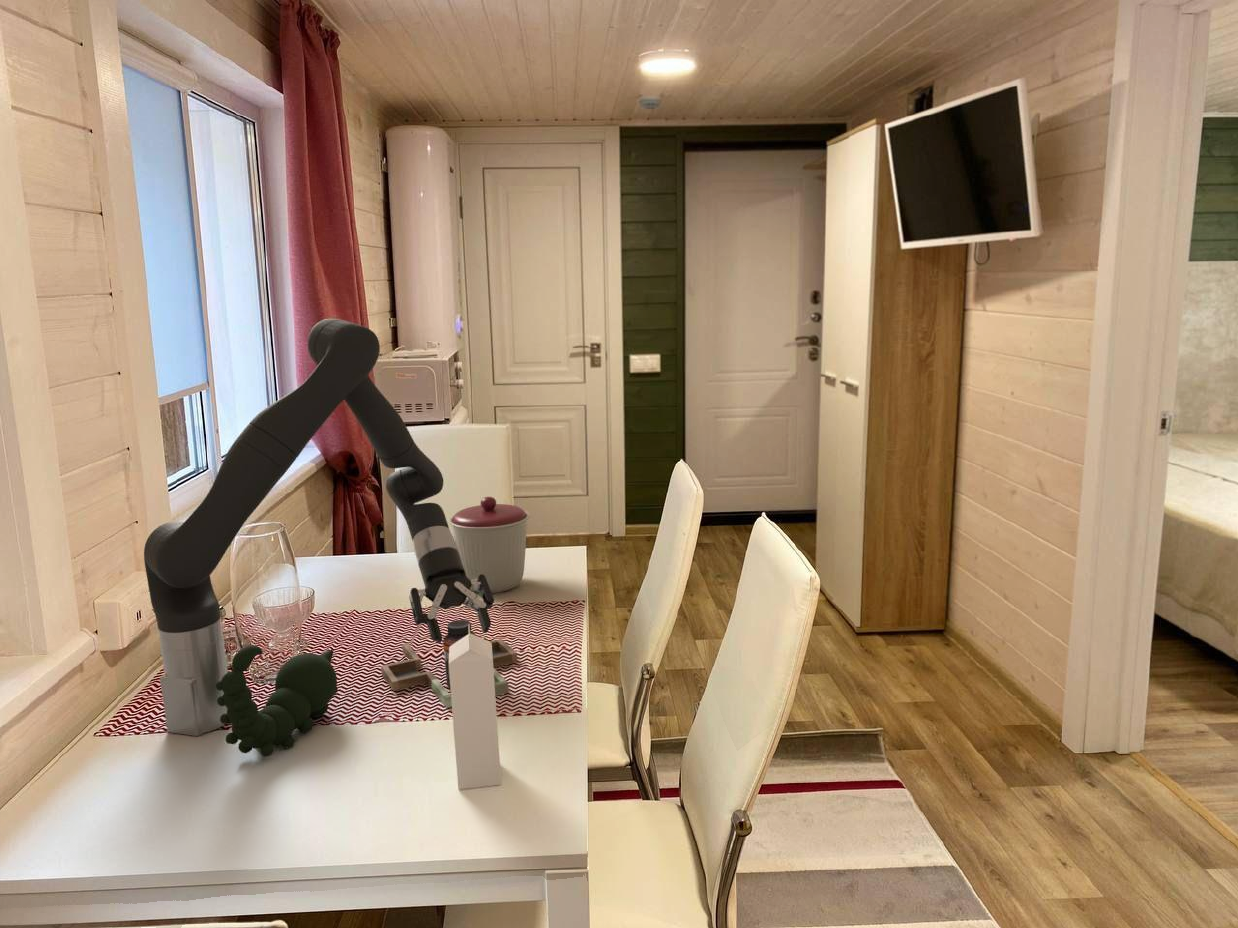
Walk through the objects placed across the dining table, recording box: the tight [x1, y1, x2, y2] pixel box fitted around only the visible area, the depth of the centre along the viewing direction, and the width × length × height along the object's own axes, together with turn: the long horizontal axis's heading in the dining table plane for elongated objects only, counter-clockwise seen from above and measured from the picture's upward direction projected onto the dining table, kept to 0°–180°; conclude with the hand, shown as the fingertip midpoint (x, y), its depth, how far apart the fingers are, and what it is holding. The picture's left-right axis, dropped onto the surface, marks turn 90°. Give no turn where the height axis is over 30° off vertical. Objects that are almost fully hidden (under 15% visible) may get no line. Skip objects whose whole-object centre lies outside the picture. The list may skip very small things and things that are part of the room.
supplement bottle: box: [442, 619, 478, 689], centre depth 162 cm, size 6×6×11 cm
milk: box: [449, 626, 502, 791], centre depth 131 cm, size 6×6×22 cm
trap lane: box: [380, 638, 518, 709], centre depth 169 cm, size 27×23×2 cm
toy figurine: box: [216, 644, 339, 757], centre depth 146 cm, size 9×19×25 cm
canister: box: [448, 496, 531, 594], centre depth 212 cm, size 18×18×21 cm
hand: (463, 635), depth 163 cm, fingers open, 8 cm apart
